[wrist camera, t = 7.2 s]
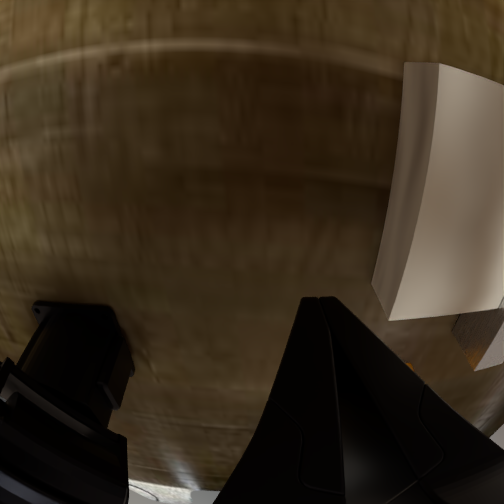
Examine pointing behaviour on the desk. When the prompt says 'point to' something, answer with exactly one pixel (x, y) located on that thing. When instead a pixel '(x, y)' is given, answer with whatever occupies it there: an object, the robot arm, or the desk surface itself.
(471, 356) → the bar
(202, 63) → the desk surface
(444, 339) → the desk surface
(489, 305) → the beige rectangular block
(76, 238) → the desk surface
